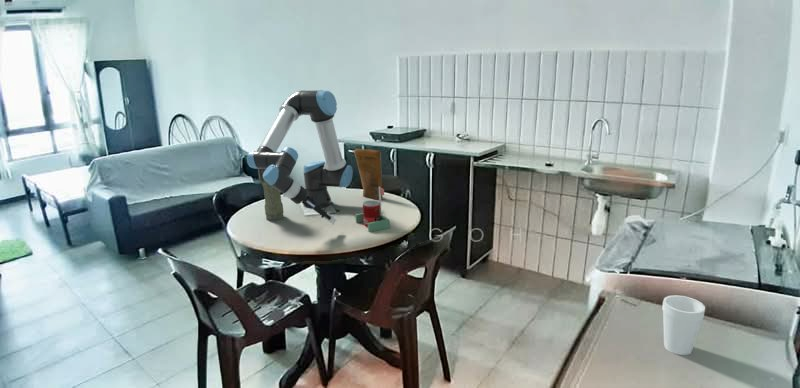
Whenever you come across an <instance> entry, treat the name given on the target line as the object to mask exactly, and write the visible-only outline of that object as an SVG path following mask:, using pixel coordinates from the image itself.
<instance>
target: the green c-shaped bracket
mask: <svg viewBox="0 0 800 388" xmlns="http://www.w3.org/2000/svg"><path fill="white" fill-rule="evenodd" d="M381 194H382V196H385V189H384V188H380V187H379V201H378V202H379V203H380V221H376V222H371V223H368V227H367V232H368V233H372V232H377V231H380V230H385V229H390V228H391V225H390V218H387V217H386V216H385V215H383V214H382V213H383V212H382V199H381ZM362 222H363V223H364V217H363V212H361V213H355V223H356V224H358V223H362Z"/></svg>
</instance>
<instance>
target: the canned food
mask: <svg viewBox="0 0 800 388" xmlns="http://www.w3.org/2000/svg"><path fill="white" fill-rule="evenodd" d="M362 213H363V217H364V222H363V226H365V228H368V223H371V222H376V221H380V203H379V201H378V200H366V201H363V202H362Z"/></svg>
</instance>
